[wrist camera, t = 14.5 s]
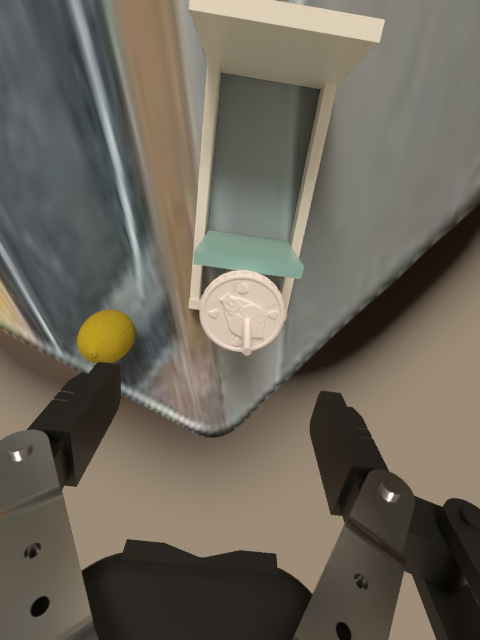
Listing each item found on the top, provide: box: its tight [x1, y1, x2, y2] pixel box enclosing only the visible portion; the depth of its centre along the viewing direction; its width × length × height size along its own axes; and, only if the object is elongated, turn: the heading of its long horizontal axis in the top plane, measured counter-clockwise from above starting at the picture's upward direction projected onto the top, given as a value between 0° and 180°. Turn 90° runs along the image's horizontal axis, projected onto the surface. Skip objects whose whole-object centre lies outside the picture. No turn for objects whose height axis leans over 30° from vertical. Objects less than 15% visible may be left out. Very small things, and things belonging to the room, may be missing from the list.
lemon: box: [77, 310, 135, 364], centre depth 34 cm, size 6×6×8 cm
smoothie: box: [200, 269, 285, 356], centre depth 25 cm, size 6×6×14 cm
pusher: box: [193, 230, 304, 279], centre depth 28 cm, size 8×1×10 cm, turn 82°
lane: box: [189, 0, 385, 322], centre depth 27 cm, size 11×23×11 cm, turn 172°
